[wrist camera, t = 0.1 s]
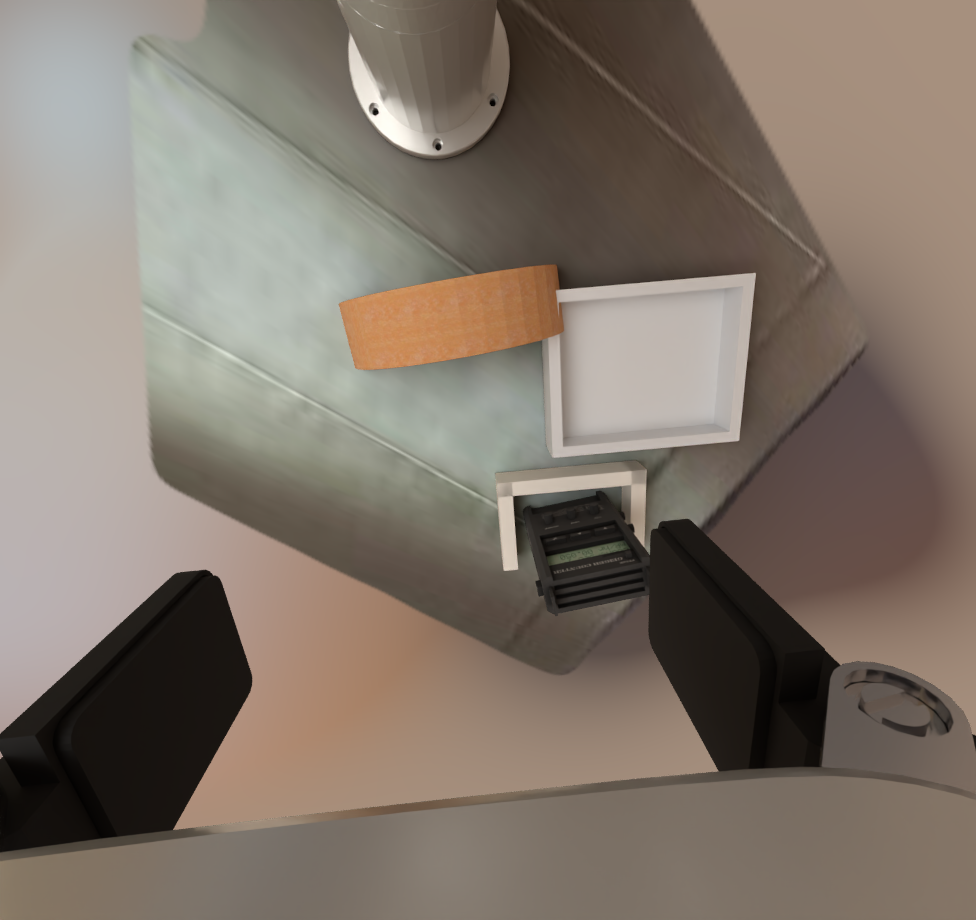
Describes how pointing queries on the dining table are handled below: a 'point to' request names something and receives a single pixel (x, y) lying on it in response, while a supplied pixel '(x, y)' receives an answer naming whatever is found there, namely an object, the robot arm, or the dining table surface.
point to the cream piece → (569, 479)
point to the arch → (453, 318)
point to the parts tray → (647, 365)
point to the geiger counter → (585, 554)
